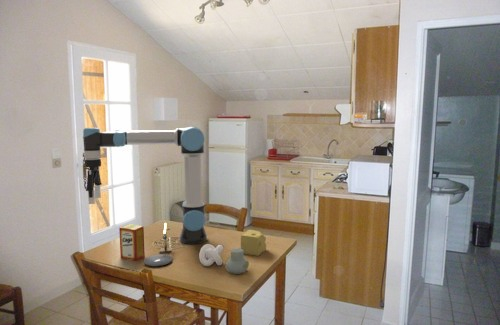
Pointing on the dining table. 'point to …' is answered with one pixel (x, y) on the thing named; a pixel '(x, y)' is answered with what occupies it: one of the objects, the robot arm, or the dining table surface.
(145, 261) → the plate
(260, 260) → the dining table surface
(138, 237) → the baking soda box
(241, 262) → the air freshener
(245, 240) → the cheese
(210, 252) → the white knot sculpture
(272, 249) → the dining table surface
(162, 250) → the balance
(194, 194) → the robot arm
